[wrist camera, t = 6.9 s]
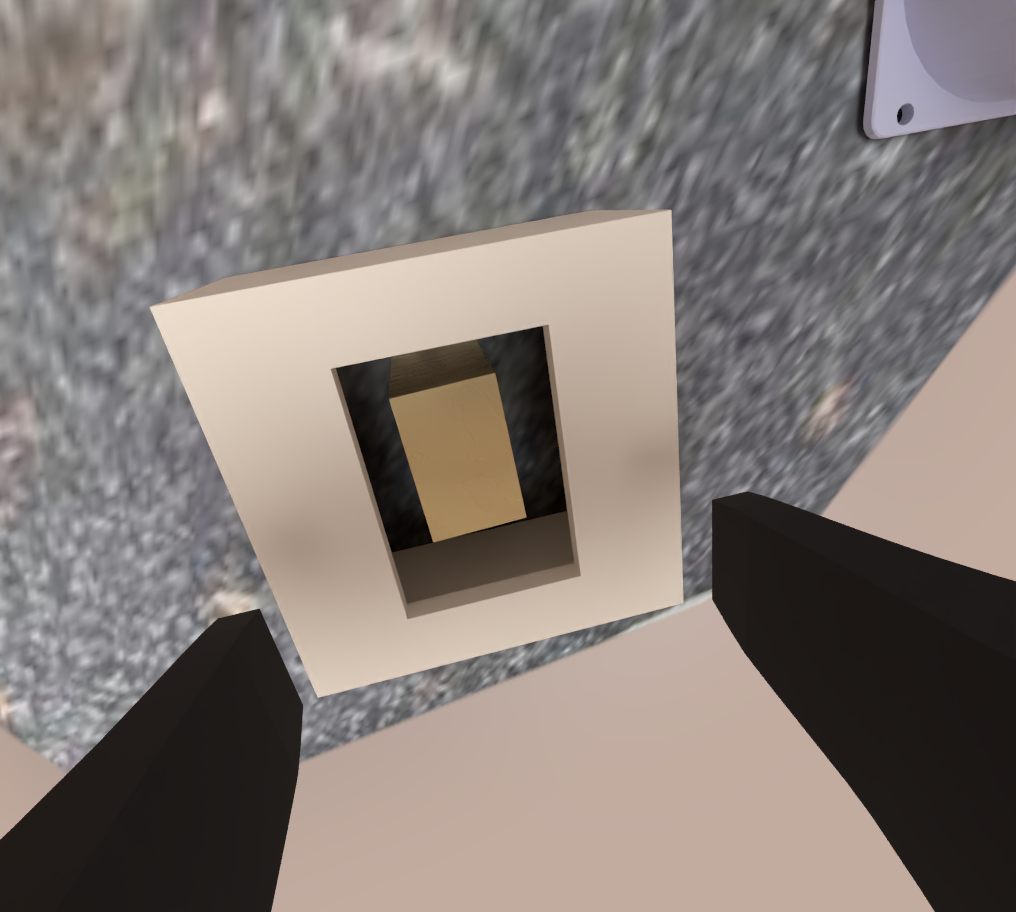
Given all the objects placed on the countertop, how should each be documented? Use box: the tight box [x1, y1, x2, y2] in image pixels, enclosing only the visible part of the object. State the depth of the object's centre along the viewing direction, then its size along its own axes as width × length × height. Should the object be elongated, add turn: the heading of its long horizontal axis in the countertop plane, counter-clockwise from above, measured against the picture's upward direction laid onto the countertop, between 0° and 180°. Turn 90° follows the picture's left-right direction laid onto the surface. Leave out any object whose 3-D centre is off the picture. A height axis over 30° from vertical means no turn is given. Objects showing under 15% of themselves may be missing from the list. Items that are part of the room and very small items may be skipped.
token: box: [389, 339, 526, 542], centre depth 15 cm, size 2×4×4 cm, turn 12°
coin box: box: [150, 210, 683, 698], centre depth 15 cm, size 10×10×5 cm
